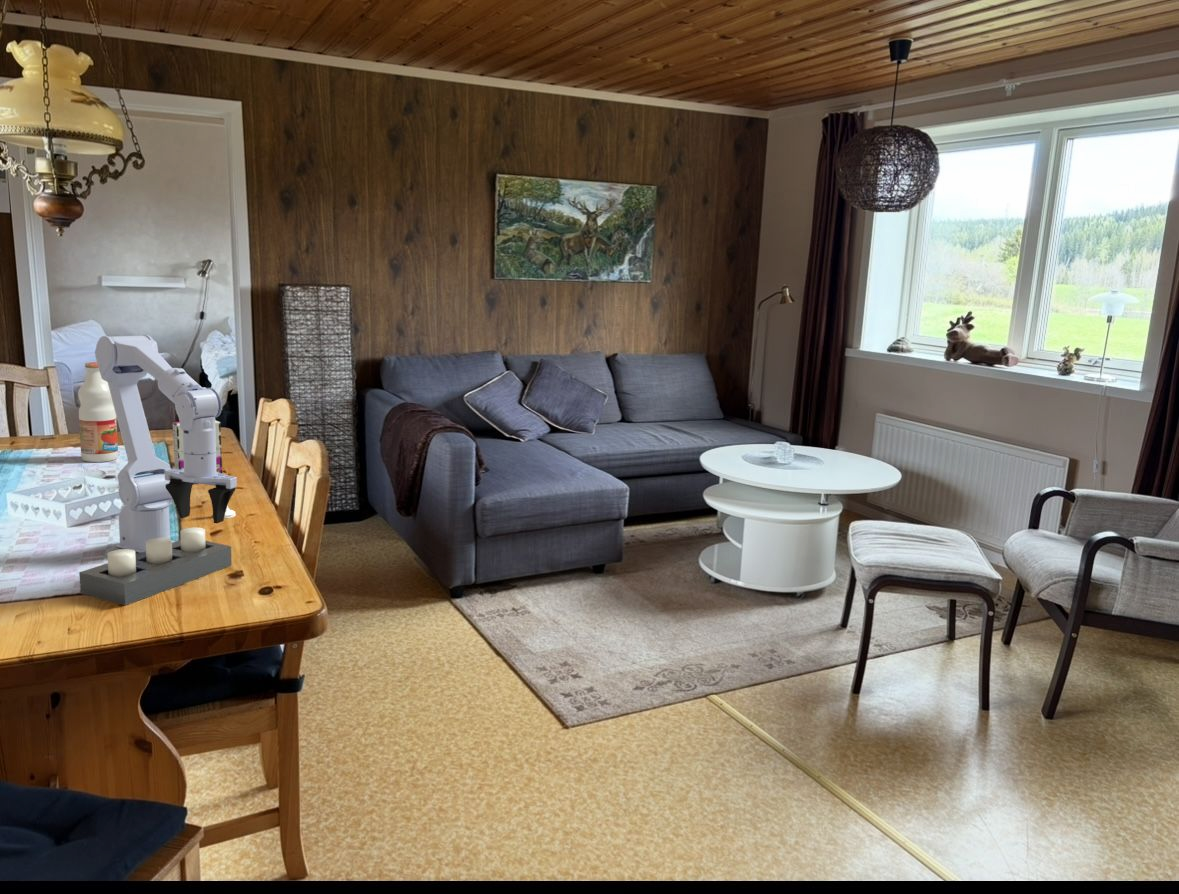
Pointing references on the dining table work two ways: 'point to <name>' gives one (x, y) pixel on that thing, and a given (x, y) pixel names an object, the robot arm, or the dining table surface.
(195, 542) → the knob
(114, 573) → the knob
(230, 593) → the dining table surface
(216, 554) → the knob mount
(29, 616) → the dining table surface
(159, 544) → the knob middle
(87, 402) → the fruit juice
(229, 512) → the chess piece
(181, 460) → the candy bar box
